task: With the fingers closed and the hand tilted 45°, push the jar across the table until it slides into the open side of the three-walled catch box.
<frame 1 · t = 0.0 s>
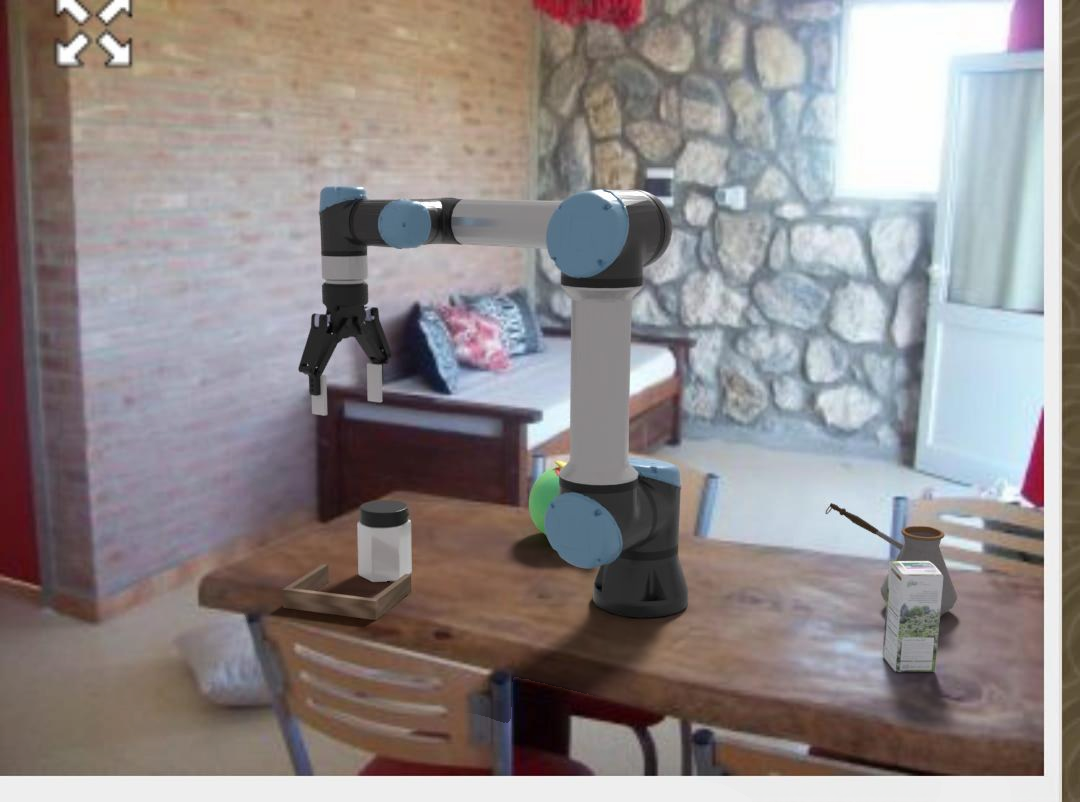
hand: (348, 407, 200), 28 cm above the table, tool pointing down, fingers open, 13 cm apart
catch box: (349, 598, 190), on the table
syrup box: (908, 666, 166), on the table
toy bird: (573, 539, 222), on the table
coffee pot: (886, 605, 189), on the table
jar: (385, 575, 201), on the table
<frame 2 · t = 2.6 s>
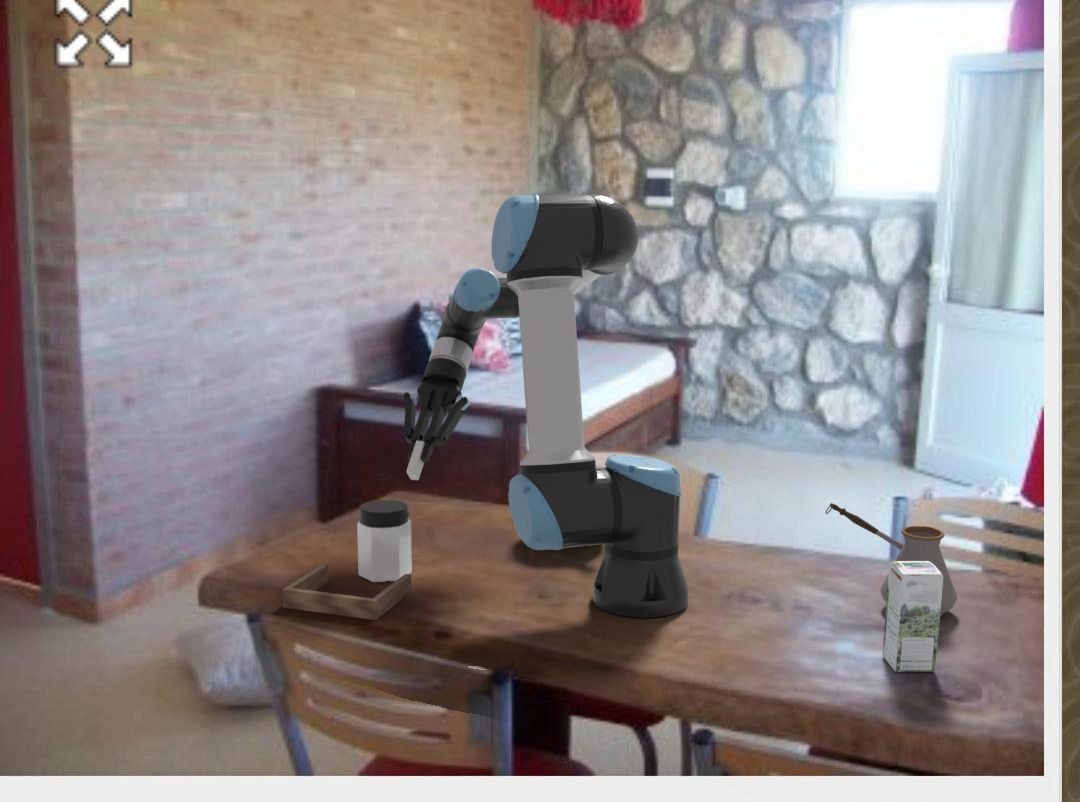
hand: (412, 475, 210), 14 cm above the table, tool tilted 45°, fingers closed
nothing on the table moved.
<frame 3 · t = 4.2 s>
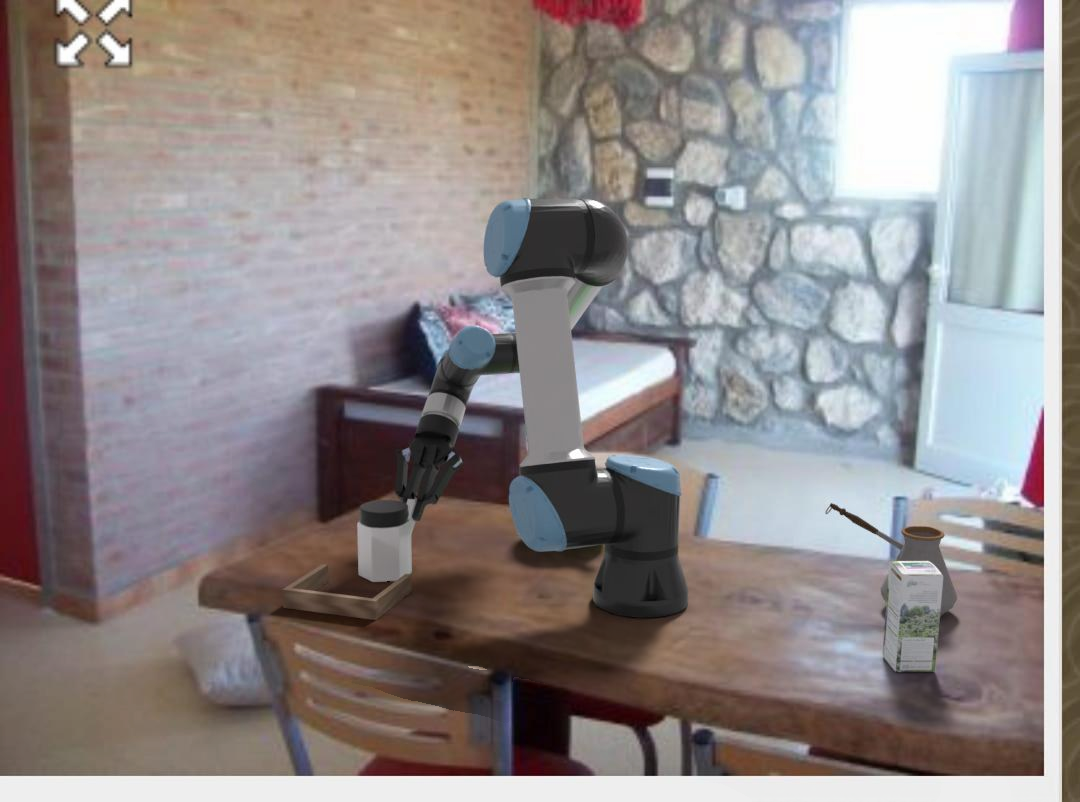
hand: (403, 535, 208), 4 cm above the table, tool tilted 45°, fingers closed
nothing on the table moved.
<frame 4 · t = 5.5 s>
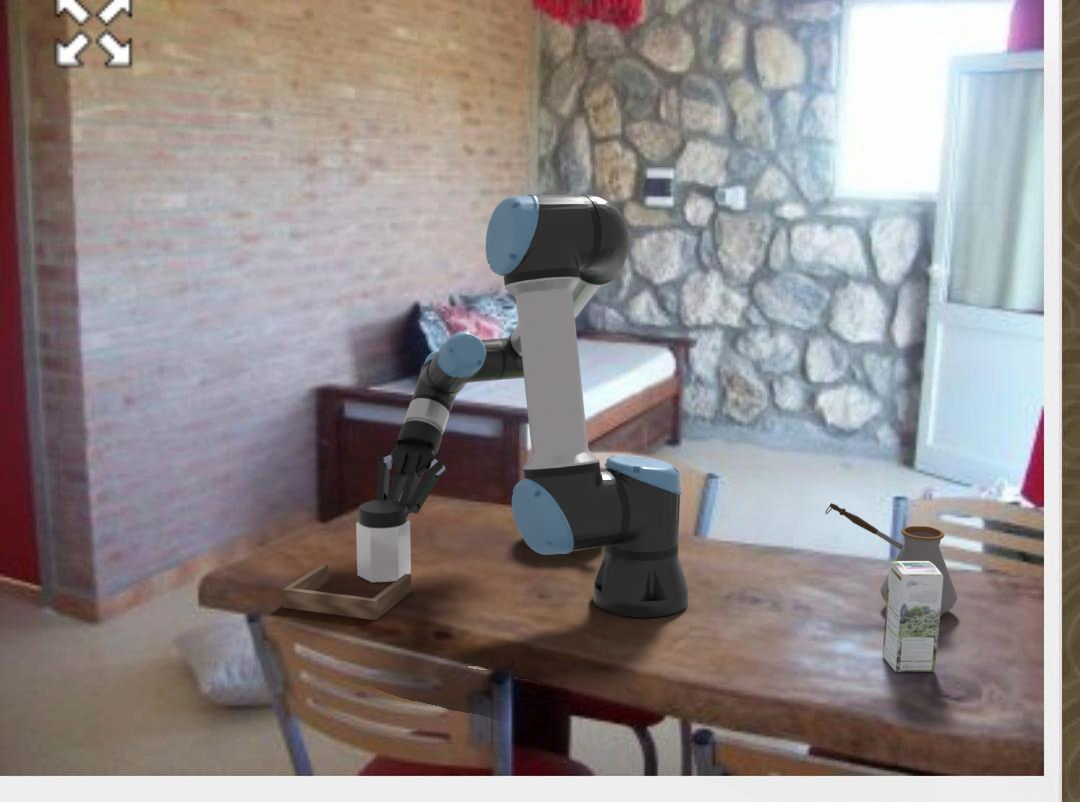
hand: (384, 545, 203), 4 cm above the table, tool tilted 45°, fingers closed
jar: (384, 575, 201), on the table, touching gripper
everything else where it was.
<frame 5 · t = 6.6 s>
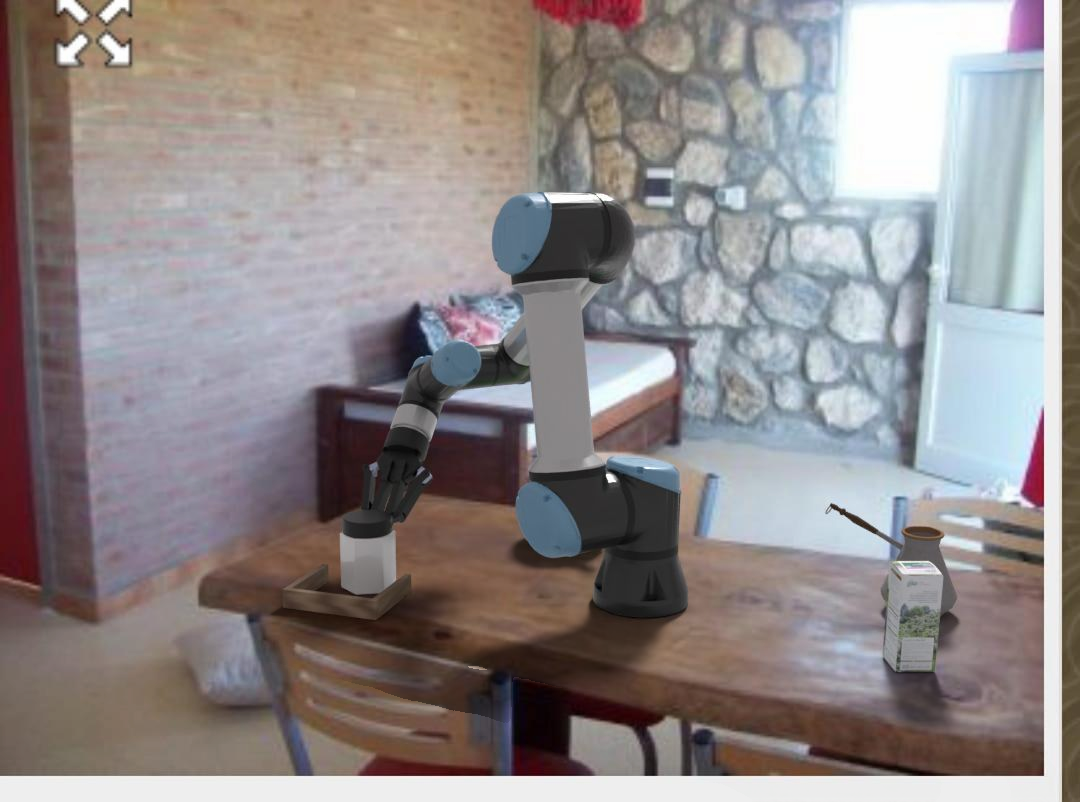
hand: (368, 555, 197), 5 cm above the table, tool tilted 45°, fingers closed
jar: (368, 587, 196), on the table, touching gripper
everything else where it was.
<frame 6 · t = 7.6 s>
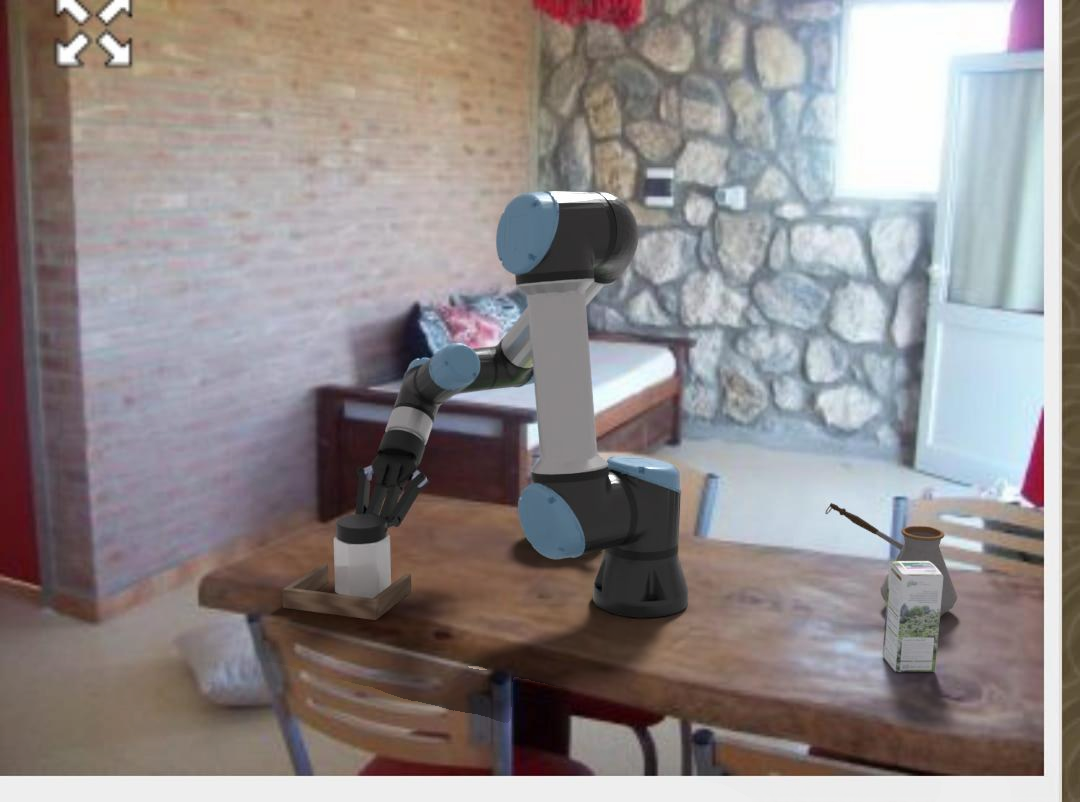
hand: (363, 560, 194), 5 cm above the table, tool tilted 45°, fingers closed
jar: (363, 592, 193), on the table, touching gripper
everything else where it was.
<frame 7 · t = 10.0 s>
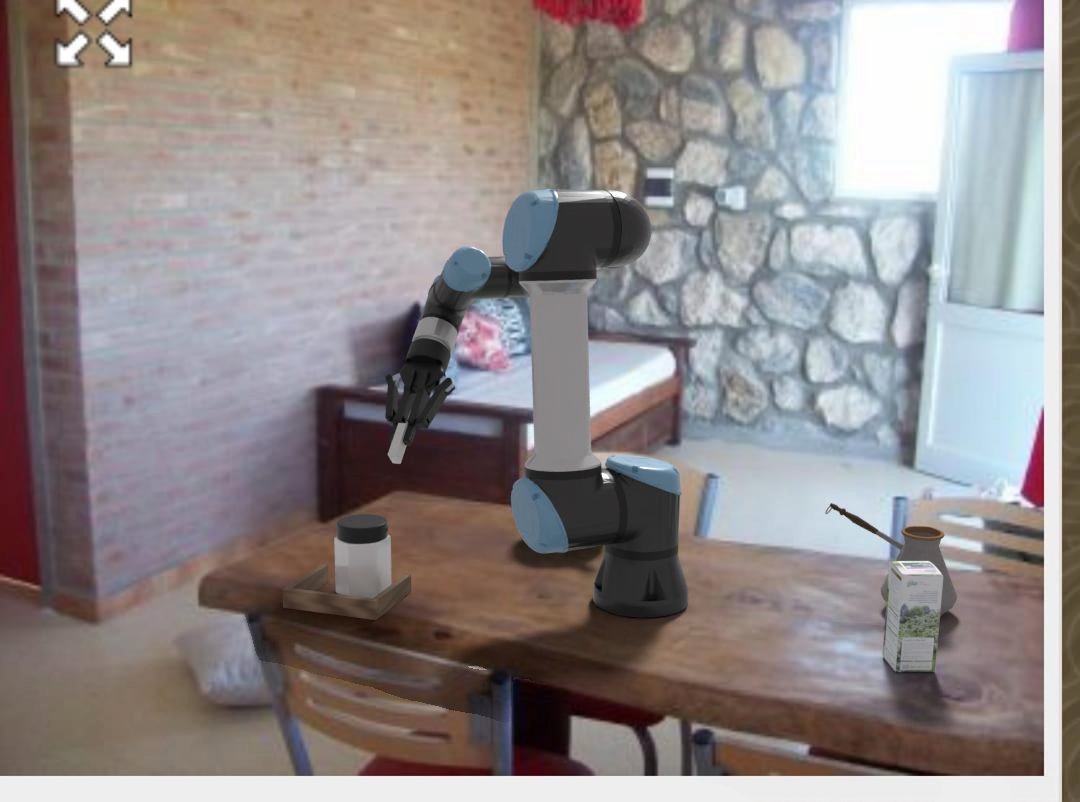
hand: (394, 459, 201), 19 cm above the table, tool tilted 45°, fingers closed
jar: (363, 593, 193), on the table
everything else where it was.
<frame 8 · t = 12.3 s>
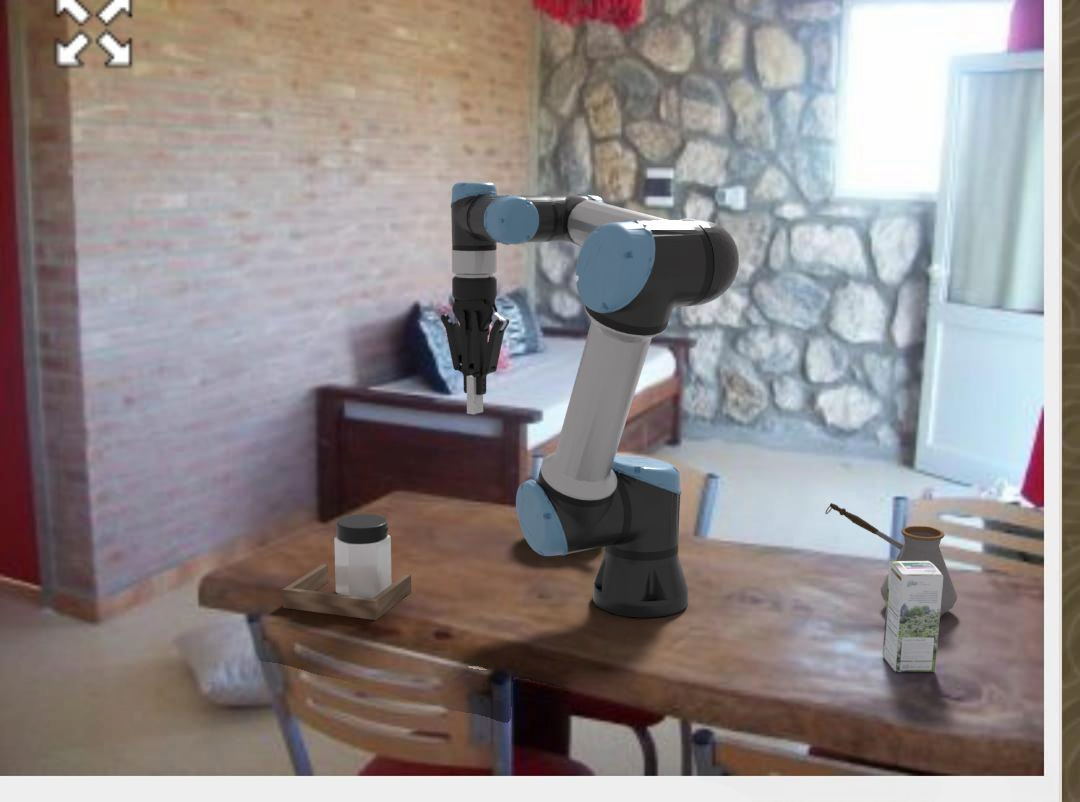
hand: (475, 412, 204), 26 cm above the table, tool pointing down, fingers closed
nothing on the table moved.
at the end: jar 3.6 cm from the catch box (horizontally); jar tilted 0°; the gripper is holding nothing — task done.
